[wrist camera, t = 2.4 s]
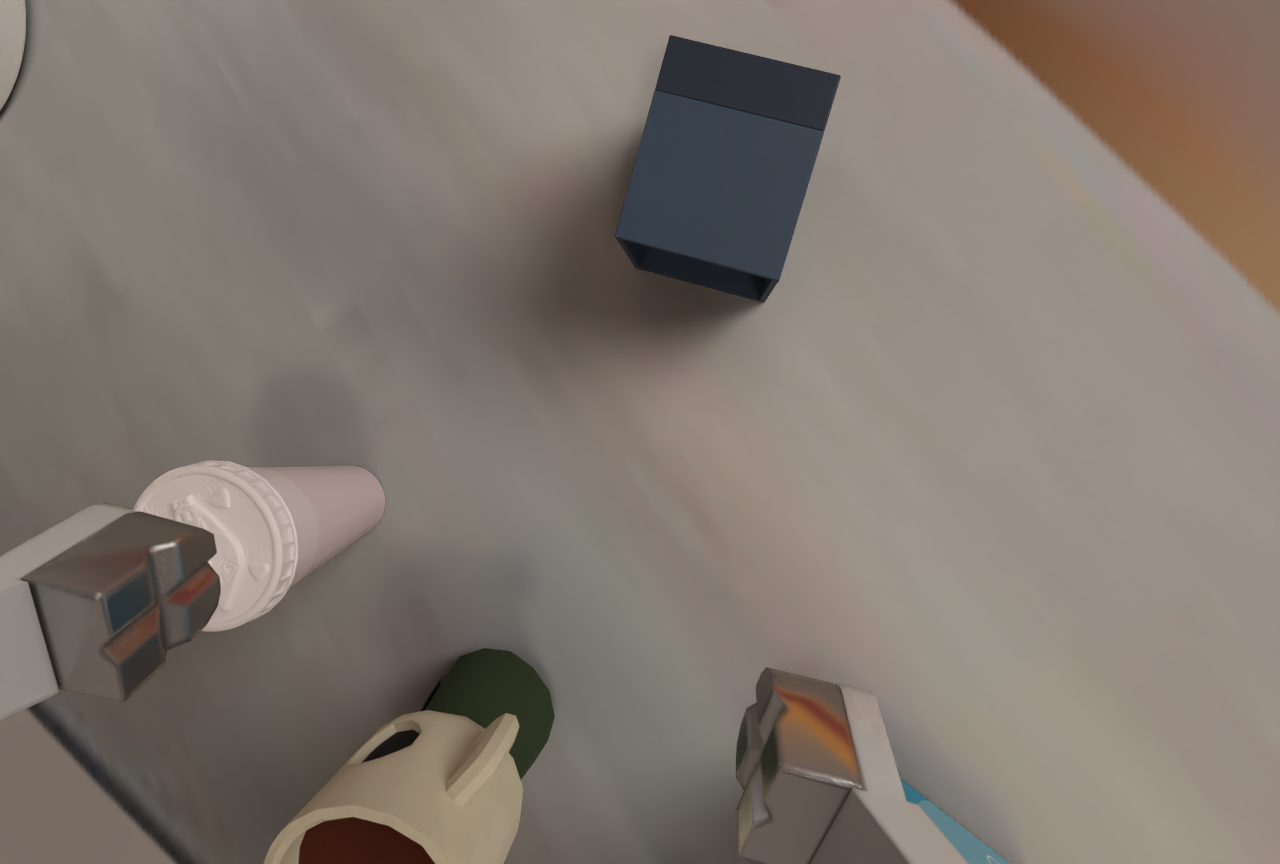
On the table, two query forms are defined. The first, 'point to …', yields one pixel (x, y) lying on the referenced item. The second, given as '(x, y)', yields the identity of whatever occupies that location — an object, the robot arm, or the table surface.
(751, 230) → the bin
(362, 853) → the character mug
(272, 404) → the table surface
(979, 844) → the data package
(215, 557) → the smoothie
